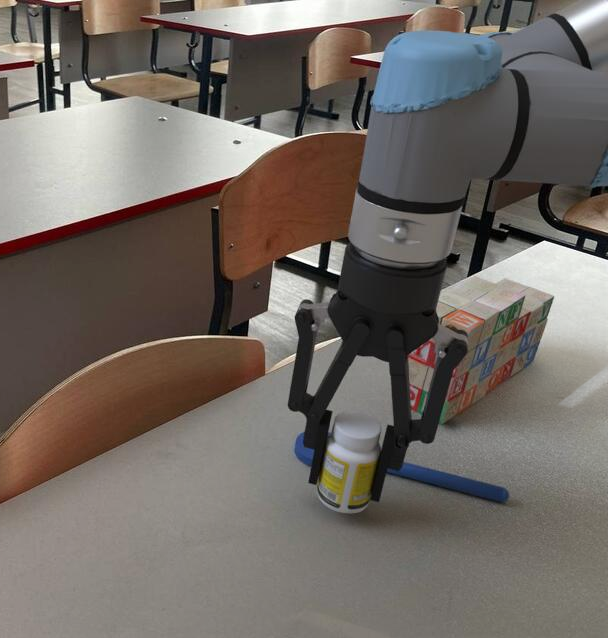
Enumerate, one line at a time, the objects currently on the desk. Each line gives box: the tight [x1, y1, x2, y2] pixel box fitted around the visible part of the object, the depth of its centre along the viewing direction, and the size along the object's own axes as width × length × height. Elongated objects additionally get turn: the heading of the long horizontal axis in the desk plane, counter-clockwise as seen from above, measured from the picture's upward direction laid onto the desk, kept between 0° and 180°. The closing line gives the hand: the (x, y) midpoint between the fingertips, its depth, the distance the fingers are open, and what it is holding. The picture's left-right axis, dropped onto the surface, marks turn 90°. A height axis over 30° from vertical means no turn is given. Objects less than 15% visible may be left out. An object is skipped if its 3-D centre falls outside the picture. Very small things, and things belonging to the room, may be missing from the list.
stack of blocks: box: [409, 275, 555, 425], centre depth 87 cm, size 21×6×12 cm, turn 129°
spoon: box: [293, 431, 510, 503], centre depth 75 cm, size 20×5×1 cm, turn 68°
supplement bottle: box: [316, 410, 382, 514], centre depth 68 cm, size 5×5×8 cm
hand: (345, 482), depth 69 cm, fingers closed on supplement bottle, 5 cm apart
